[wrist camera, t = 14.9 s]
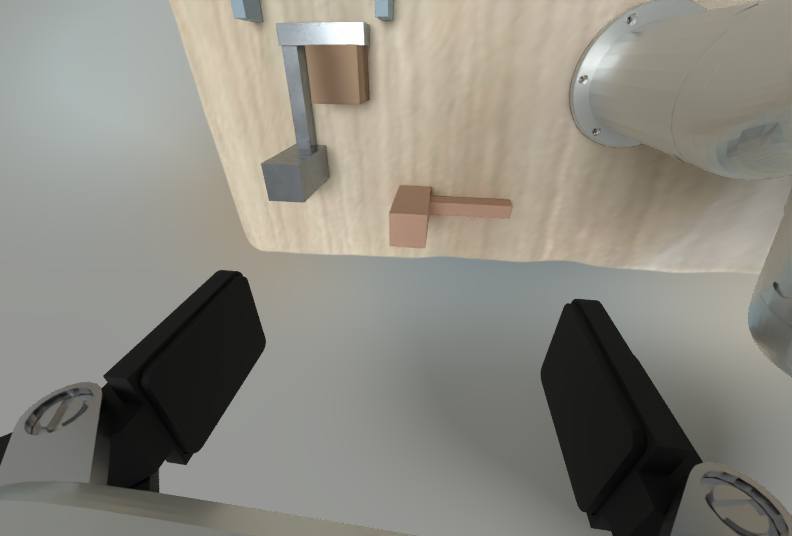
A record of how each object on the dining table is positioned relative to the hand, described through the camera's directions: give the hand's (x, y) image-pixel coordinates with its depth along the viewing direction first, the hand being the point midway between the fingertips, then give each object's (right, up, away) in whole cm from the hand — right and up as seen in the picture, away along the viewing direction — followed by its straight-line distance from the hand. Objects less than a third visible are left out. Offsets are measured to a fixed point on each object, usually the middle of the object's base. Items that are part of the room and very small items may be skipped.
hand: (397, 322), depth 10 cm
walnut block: (-6, +23, +26) cm, 35 cm away
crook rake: (-8, +20, +28) cm, 36 cm away
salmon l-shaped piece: (+7, +10, +32) cm, 35 cm away
